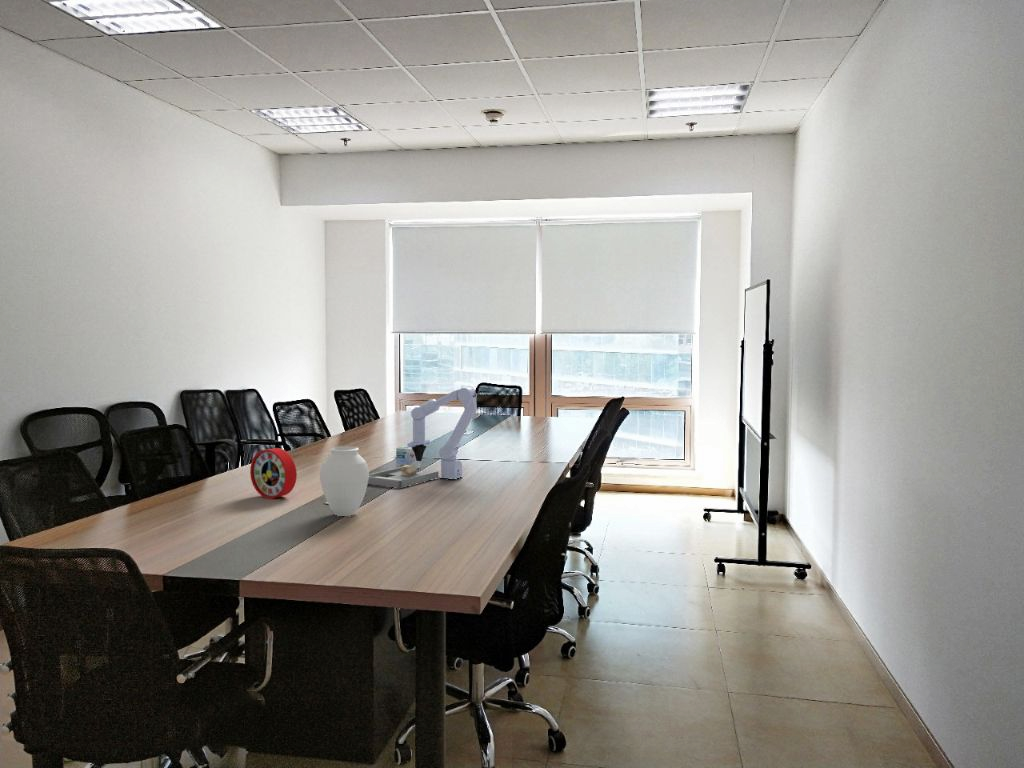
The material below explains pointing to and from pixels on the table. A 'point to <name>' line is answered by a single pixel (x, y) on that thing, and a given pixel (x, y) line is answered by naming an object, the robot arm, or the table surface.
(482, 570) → the table surface
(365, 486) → the vase
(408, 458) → the light bulb box
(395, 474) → the grey tray
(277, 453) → the toy clock
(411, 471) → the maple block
